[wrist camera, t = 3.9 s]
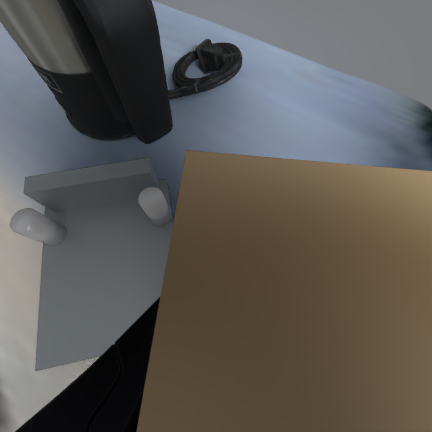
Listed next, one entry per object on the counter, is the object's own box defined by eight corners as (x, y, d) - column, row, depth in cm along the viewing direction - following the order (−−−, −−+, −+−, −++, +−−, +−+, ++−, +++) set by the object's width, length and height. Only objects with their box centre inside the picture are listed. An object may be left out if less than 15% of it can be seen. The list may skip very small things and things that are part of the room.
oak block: (278, 390, 12) (806, 1065, 1) (195, 381, 13) (50, 919, 1) (278, 276, 15) (477, 175, 4) (207, 269, 15) (186, 150, 4)
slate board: (190, 333, 16) (184, 341, 12) (46, 367, 15) (-10, 387, 11) (167, 184, 20) (157, 156, 16) (53, 204, 19) (15, 178, 15)
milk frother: (45, 113, 22) (-220, -202, 9) (148, 27, 27) (86, -257, 14) (166, 184, 20) (65, -101, 6) (254, 75, 25) (309, -214, 11)
